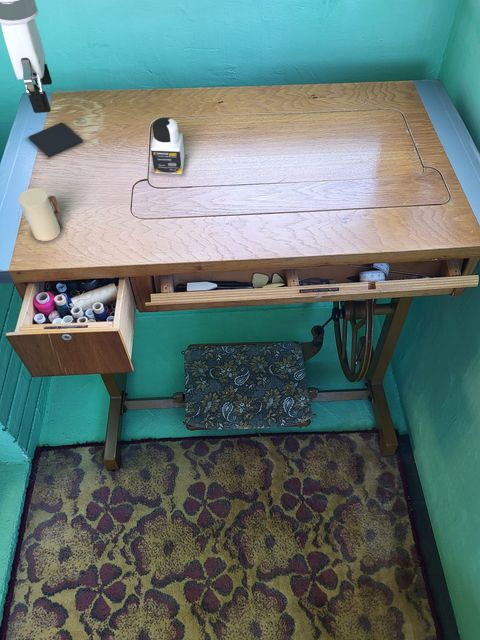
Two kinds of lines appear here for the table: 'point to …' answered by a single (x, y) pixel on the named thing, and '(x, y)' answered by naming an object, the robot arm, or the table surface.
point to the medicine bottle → (167, 147)
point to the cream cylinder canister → (40, 213)
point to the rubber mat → (55, 139)
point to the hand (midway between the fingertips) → (43, 97)
